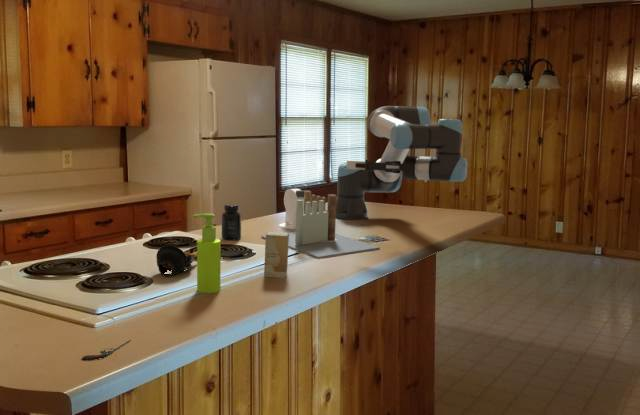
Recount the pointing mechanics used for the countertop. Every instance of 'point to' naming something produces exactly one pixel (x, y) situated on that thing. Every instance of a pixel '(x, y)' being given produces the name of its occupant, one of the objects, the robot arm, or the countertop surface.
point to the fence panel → (311, 223)
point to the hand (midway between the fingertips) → (347, 164)
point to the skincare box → (276, 254)
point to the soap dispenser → (208, 257)
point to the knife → (93, 357)
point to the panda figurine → (291, 206)
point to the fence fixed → (330, 209)
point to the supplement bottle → (231, 222)
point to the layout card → (330, 246)
